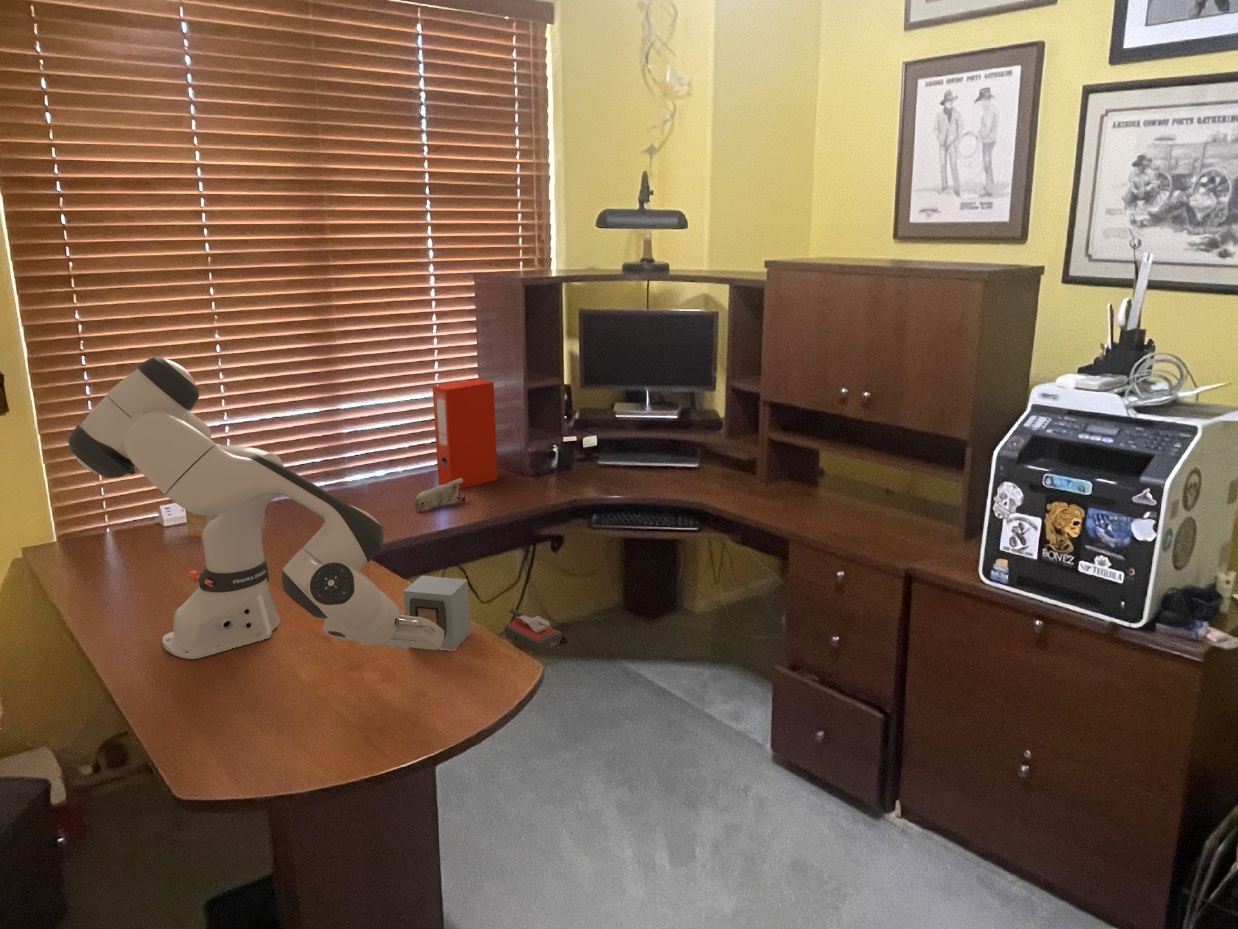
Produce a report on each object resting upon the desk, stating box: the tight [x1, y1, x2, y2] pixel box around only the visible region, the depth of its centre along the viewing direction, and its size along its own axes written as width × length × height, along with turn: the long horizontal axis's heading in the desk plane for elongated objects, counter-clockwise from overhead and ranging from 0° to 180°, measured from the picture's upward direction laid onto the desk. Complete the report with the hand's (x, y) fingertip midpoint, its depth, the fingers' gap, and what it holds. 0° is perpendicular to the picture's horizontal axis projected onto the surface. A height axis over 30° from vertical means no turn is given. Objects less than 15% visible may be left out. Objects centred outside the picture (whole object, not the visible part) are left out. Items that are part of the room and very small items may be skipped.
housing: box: [403, 575, 472, 650], centre depth 181 cm, size 9×10×12 cm
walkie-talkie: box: [504, 608, 569, 655], centre depth 185 cm, size 9×4×20 cm
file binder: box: [432, 378, 499, 490], centre depth 286 cm, size 8×17×32 cm, turn 132°
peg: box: [418, 607, 439, 626], centre depth 184 cm, size 14×4×4 cm, turn 166°
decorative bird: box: [414, 478, 467, 514], centre depth 266 cm, size 5×16×8 cm, turn 131°
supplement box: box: [184, 509, 219, 539], centre depth 244 cm, size 8×5×13 cm, turn 62°
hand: (402, 644), depth 167 cm, fingers closed
